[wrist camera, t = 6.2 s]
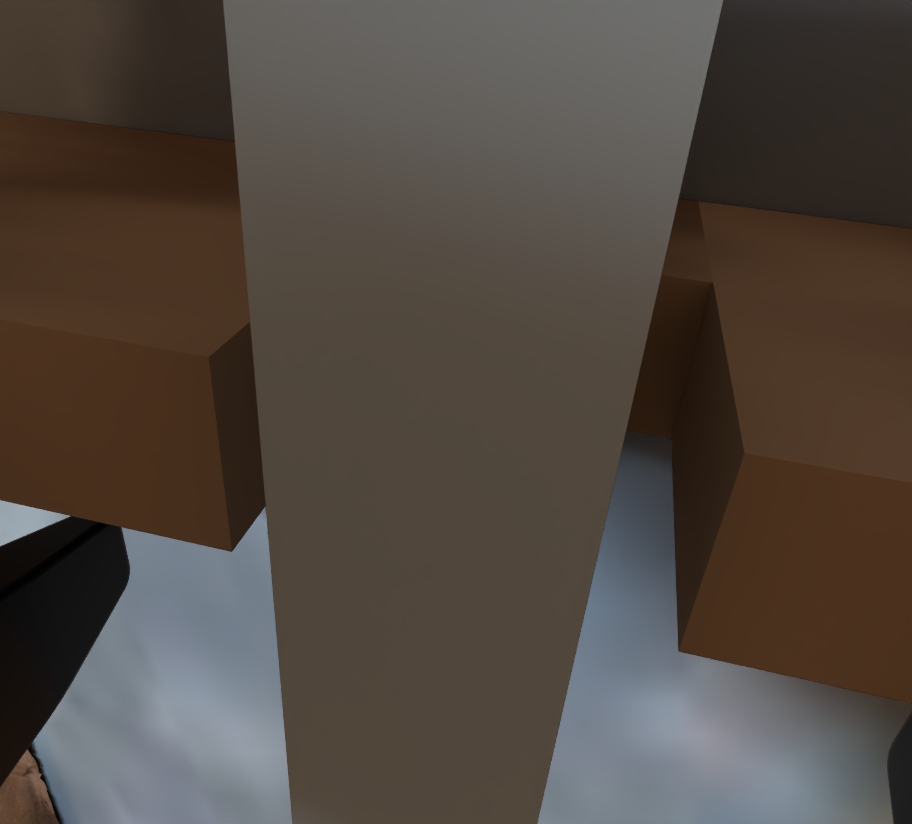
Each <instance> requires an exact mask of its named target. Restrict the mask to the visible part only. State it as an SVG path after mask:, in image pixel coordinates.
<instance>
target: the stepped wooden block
mask: <svg viewBox="0 0 912 824" xmlns="http://www.w3.org/2000/svg"><path fill="white" fill-rule="evenodd" d="M626 431H631V432H637V433H642V434H648V435H653V436H659V437H665V438H670V439H672V469H673V499H674V529H675V559H676V590H677V620H678V650H679V652H683V653H688V654H692V655H697V656H701V657H706V658H710V659H714V660H719V661H723V662H728V663H732V664H737V665H741V666H746V667H750V668H755V669H759V670H764V671H768V672H773V673H777V674H782V675H786V676H791V677H795V678H800V679H804V680H809V681H813V682H817V683H822V684H826V685H831V686H835V687H840V688H844V689H849V690H853V691H858V692H862V693H867V694H871V695H876V696H880V697H885V698H889V699H894V700H898V701H903V702H907V703H912V229H910V228H903V227H895V226H887V225H879V224H871V223H864V222H856V221H848V220H840V219H832V218H825V217H817V216H809V215H801V214H793V213H786V212H778V211H770V210H762V209H754V208H747V207H739V206H731V205H723V204H715V203H708V202H700V201H692V200H684V199H678V203H677V207H676V212H675V216H674V220H673V225H672V229H671V234H670V238H669V243H668V247H667V251H666V256H665V260H664V265H663V269H662V274H661V278H660V282H659V287H658V291H657V296H656V300H655V305H654V309H653V313H652V318H651V322H650V327H649V331H648V335H647V340H646V344H645V349H644V353H643V358H642V362H641V366H640V371H639V375H638V380H637V384H636V389H635V393H634V397H633V402H632V406H631V411H630V415H629V420H628V424H627V428H626ZM0 500H2V501H7V502H11V503H16V504H20V505H25V506H29V507H34V508H38V509H43V510H47V511H52V512H56V513H61V514H65V515H70V516H74V517H79V518H83V519H87V520H92V521H96V522H101V523H105V524H110V525H114V526H119V527H123V528H128V529H132V530H137V531H141V532H146V533H150V534H155V535H159V536H164V537H168V538H173V539H177V540H182V541H186V542H190V543H195V544H199V545H204V546H208V547H213V548H217V549H222V550H226V551H231V552H232V551H233V550H234V548H235V547H236V546H237V544H238V543H239V541H240V540H241V539H242V537H243V536H244V535H245V533H246V532H247V530H248V529H249V528H250V526H251V525H252V524H253V522H254V521H255V520H256V518H257V517H258V515H259V514H260V513H261V511H262V510H263V509H264V507H265V506H266V503H265V491H264V480H263V468H262V456H261V444H260V432H259V420H258V409H257V397H256V385H255V373H254V361H253V349H252V338H251V326H250V314H249V302H248V290H247V278H246V266H245V255H244V243H243V231H242V219H241V207H240V195H239V184H238V172H237V160H236V148H235V142H232V141H224V140H216V139H209V138H201V137H193V136H185V135H177V134H170V133H162V132H154V131H146V130H138V129H131V128H123V127H115V126H107V125H100V124H92V123H84V122H76V121H68V120H61V119H53V118H45V117H37V116H29V115H22V114H14V113H6V112H0Z"/></svg>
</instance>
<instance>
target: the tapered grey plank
mask: <svg viewBox="0 0 912 824" xmlns="http://www.w3.org/2000/svg"><path fill="white" fill-rule="evenodd" d="M722 4H723V0H223V6H224V18H225V30H226V41H227V53H228V65H229V77H230V89H231V101H232V112H233V124H234V136H235V148H236V160H237V172H238V184H239V195H240V207H241V219H242V231H243V243H244V255H245V266H246V278H247V290H248V302H249V314H250V326H251V338H252V349H253V361H254V373H255V385H256V397H257V409H258V420H259V432H260V444H261V456H262V468H263V480H264V491H265V503H266V515H267V527H268V539H269V551H270V563H271V574H272V586H273V598H274V610H275V622H276V634H277V645H278V657H279V669H280V681H281V693H282V705H283V717H284V728H285V740H286V752H287V764H288V776H289V788H290V799H291V811H292V823H293V824H537V822H538V818H539V813H540V809H541V805H542V800H543V796H544V791H545V787H546V782H547V778H548V774H549V769H550V765H551V760H552V756H553V751H554V747H555V743H556V738H557V734H558V729H559V725H560V720H561V716H562V712H563V707H564V703H565V698H566V694H567V689H568V685H569V681H570V676H571V672H572V667H573V663H574V658H575V654H576V650H577V645H578V641H579V636H580V632H581V628H582V623H583V619H584V614H585V610H586V605H587V601H588V597H589V592H590V588H591V583H592V579H593V574H594V570H595V566H596V561H597V557H598V552H599V548H600V543H601V539H602V535H603V530H604V526H605V521H606V517H607V512H608V508H609V504H610V499H611V495H612V490H613V486H614V482H615V477H616V473H617V468H618V464H619V459H620V455H621V451H622V446H623V442H624V437H625V433H626V428H627V424H628V420H629V415H630V411H631V406H632V402H633V397H634V393H635V389H636V384H637V380H638V375H639V371H640V366H641V362H642V358H643V353H644V349H645V344H646V340H647V335H648V331H649V327H650V322H651V318H652V313H653V309H654V305H655V300H656V296H657V291H658V287H659V282H660V278H661V274H662V269H663V265H664V260H665V256H666V251H667V247H668V243H669V238H670V234H671V229H672V225H673V220H674V216H675V212H676V207H677V203H678V198H679V194H680V189H681V185H682V181H683V176H684V172H685V167H686V163H687V159H688V154H689V150H690V145H691V141H692V136H693V132H694V128H695V123H696V119H697V114H698V110H699V105H700V101H701V97H702V92H703V88H704V83H705V79H706V74H707V70H708V66H709V61H710V57H711V52H712V48H713V43H714V39H715V35H716V30H717V26H718V21H719V17H720V12H721V8H722Z"/></svg>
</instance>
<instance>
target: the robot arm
mask: <svg viewBox="0 0 912 824" xmlns="http://www.w3.org/2000/svg"><path fill="white" fill-rule="evenodd" d="M129 575H130V564H129V560H128V555H127V551H126V546H125V541H124V537H123V532H122V528H121V527H119V526H114V525H110V524H105V523H101V522H96V521H92V520H87V519H83V518H79V517H74V516H70V517H68V518H66V519H63V520H61V521H58V522H56V523H54V524H51V525H49V526H47V527H44V528H42V529H40V530H37V531H35V532H33V533H30V534H28V535H26V536H23V537H21V538H19V539H16V540H14V541H12V542H9V543H7V544H5V545H2V546H0V788H1V786H2V785H3V783H4V782H5V780H6V779H7V778H8V776H9V775H10V773H11V772H12V770H13V769H14V768H15V766H16V765H17V763H18V762H19V761H20V759H21V758H22V756H23V755H24V753H25V752H26V751H27V749H28V748H29V746H30V745H31V743H32V742H33V741H34V739H35V738H36V736H37V735H38V733H39V732H40V731H41V729H42V728H43V726H44V725H45V723H46V722H47V721H48V719H49V718H50V716H51V715H52V713H53V712H54V710H55V709H56V707H57V706H58V704H59V703H60V701H61V700H62V698H63V697H64V695H65V693H66V692H67V690H68V688H69V687H70V685H71V683H72V682H73V680H74V678H75V677H76V675H77V673H78V671H79V669H80V668H81V666H82V664H83V662H84V661H85V659H86V657H87V655H88V654H89V652H90V650H91V648H92V646H93V645H94V643H95V641H96V639H97V638H98V636H99V634H100V632H101V631H102V629H103V627H104V625H105V623H106V622H107V620H108V618H109V616H110V615H111V613H112V611H113V609H114V608H115V606H116V604H117V602H118V600H119V599H120V597H121V595H122V593H123V592H124V590H125V588H126V586H127V583H128V580H129ZM887 769H888V779H889V788H890V797H891V806H892V815H893V824H912V712H911V714H910V715H909V717H908V719H907V720H906V722H905V723H904V725H903V727H902V728H901V730H900V732H899V733H898V735H897V736H896V738H895V740H894V741H893V743H892V745H891V747H890V750H889V754H888V762H887Z"/></svg>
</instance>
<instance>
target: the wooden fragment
mask: <svg viewBox="0 0 912 824" xmlns="http://www.w3.org/2000/svg"><path fill="white" fill-rule="evenodd" d="M41 775H42V774H40V773H39V770H38V766H37V763H36V761H35V759H34V758H33V757H32V756H31V754H30V753H29V751H28V750H27V751H26V752H25V753H24V755H23V756H22V758H21V759H20V761H19V762H18V763H17V765H16V766H15V768H14V769H13V770H12V772H11V773H10V775H9V776H8V778H7V779H6V780H5V782H4V783H3V785H2V786H1V788H0V824H59V822H58V820H57V819H56V816H55V813H54V810H53V806H52V803H51V800H50V799H49V797H48V793H47V791H46V790H47V787H46V785H45V783H44V782H43V781H42V780H41V779H40V776H41Z"/></svg>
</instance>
